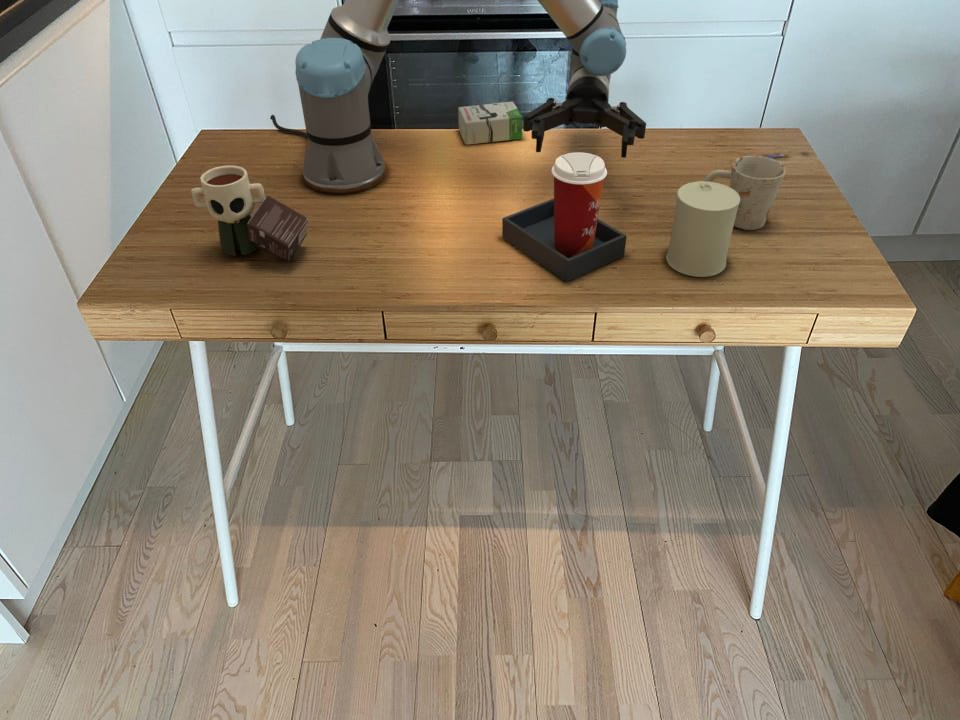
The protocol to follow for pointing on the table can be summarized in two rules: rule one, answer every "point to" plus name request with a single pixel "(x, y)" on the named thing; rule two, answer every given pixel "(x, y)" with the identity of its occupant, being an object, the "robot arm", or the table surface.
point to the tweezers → (776, 155)
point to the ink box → (490, 123)
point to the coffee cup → (576, 201)
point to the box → (277, 228)
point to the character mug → (230, 205)
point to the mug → (753, 188)
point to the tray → (537, 241)
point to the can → (702, 228)
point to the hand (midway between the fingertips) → (581, 147)
